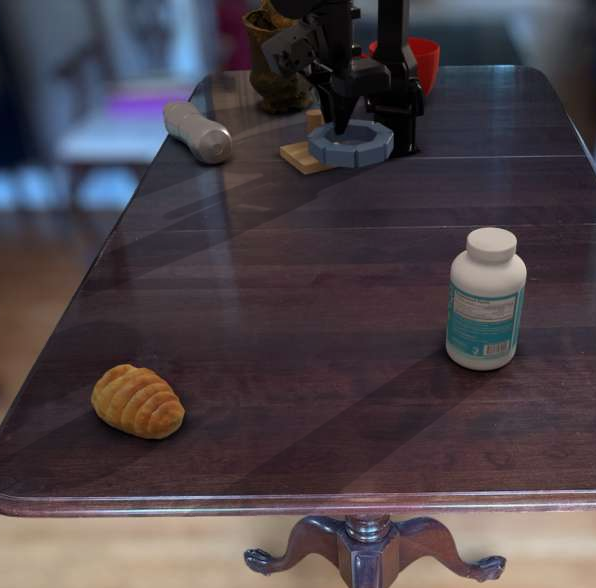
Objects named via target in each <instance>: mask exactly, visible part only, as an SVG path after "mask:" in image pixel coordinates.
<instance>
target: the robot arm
mask: <svg viewBox="0 0 596 588" xmlns="http://www.w3.org/2000/svg"><path fill="white" fill-rule="evenodd" d="M270 3H271V4H272V6H273V7H274V9H275V10H276V11H277V12H278V13H279V14H280V15H282V16H283V17H285V18H288V19H291V20H297V24H295V25H293V26H291V27H288V28H286V29H284V30H283V31H281V32H280V33H278V34H276V35H275V36H273V37H272V38H270V39H268V40H267V41H265V42H264V43H263V44H262V45H261V48H262V50H263V53H264V55H265V57H266V59H267V62H268V64H269V66H270V69H271V71H272V72H273V73H276V74H278V75H280V77H281V78H283V79H288V78H291V77H293V76H294V75H296V72H297V73H298V74H299V75H300V76H301V77H303V78H304V79H305V80H306V81H307V82H308V83H310V84H311V86H312V91H313V92H314V95H315V98H316V101H317V103H318V106H319V110H321V113H322V116H323V123H324V124H325V123H330V122H333V126H334V131H335V134H336V135H337V136H338V135H342V134H344V132H345V129H346V127H347V125H348V123H349V120H350V119H352V118H351V117H352V116H353V113H354V111H355V109H356V106H357V104H358V102H359V101H360V99H361V97H363V101H364V108H365V113H366V114H373V121H374V123H380V124H382V125H383V126H385V127H386V128H388V129H390V130H391V131H392V132H393V134H394V136H393V150H392V151H391V153H390V155H389V157H388V158H387V159H394V158H398V157H402V156H407V155H410V154H415V153H419V152H421V147H420V146H418V145H417V144H416V129H417V118H418V117H423V116H424V115H425V107H426V102H425V101H426V97H425V94H424V91H423V88H422V85H421V82H420V79H419V78H418V64H417V61H416V59H415V57H414V55H413V53H412V51H411V49H410V47H409V45H408V37H409V31H410V30H409V29H410V9H411V8H410V6H411V0H377V27H376V29H377V34H376V38H377V39H376V41H377V47H376V49H375V51H374V52H373V54H372V56H371V58H365V59H363V58H361V59H360V58H359V59H355V60H354V59H353V60H352V57H355V58H357V57H356V56H361V53H362V46H361V45H360V44H357V43H355V20H359V19H362V14H361V13H362V12H361V11H362V10H361V8H359V7H358V6H355V5H354V4H355V3H354V0H270ZM351 60H352V61H351Z"/></svg>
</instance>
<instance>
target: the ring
mask: <svg viewBox="0 0 596 588" xmlns="http://www.w3.org/2000/svg"><path fill="white" fill-rule="evenodd" d="M393 136H394V134H393V132H392V131H391V130H390V129H388V128H386V127H385V126H383V125H382V124H380V123H374V120H363V119H352V118H350V120H349V123H348V125H347V127H346V129H345V132H344V134H342V135H338V136H337V135H336V134H335V131H334V126H333V122H330V123H325V122H324V123H323V124H321V125H319V127H315V128H314V129H313V131H312V132H311V133H310V134H309V136H308V135H307V141H308V151H309V154H310V155H311V156H312V157H314V158H315V159H316V160H318V161H319V162H320V163H322V164H323V163H326V165H329V166H340V167H342V168H351V169H354V168H355V167H356V166H357V167H358V168H363V167H366V166H371V165H374V164H379V163H381V162H384V161H385V160H388V159H389V158H388V157H389V155H390V153H391V151H392V150H393ZM345 141H356V142H357V141H358V142H359V141H360V142H363V143H360V144H359V143H358V144H356V145H352V144H340V142H345ZM336 142H337V143H339V144H333V143H336Z"/></svg>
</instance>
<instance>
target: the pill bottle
mask: <svg viewBox="0 0 596 588" xmlns="http://www.w3.org/2000/svg"><path fill="white" fill-rule="evenodd" d="M517 242H518V241H517V237H516V236H515V234H514V233H512V232H511V231H509V230H506V229H503V228H500V227H480V228H477V229H474V230H472V231H471V232H470V233H469V234H468V235H467V238H466V245H465V249H466V250H464V251H462V252H461V253H459V254H458V255H457V256H456V257H455V258H454V259H453V261H452V264H451V267H450V275H449V287H448V289H449V290H448V306H447V307H448V308H447V320H446V334H445V350H446V352H447V355H448V356H449V358H451V359H452V361H454V362H455V363H456V364H458V365H460V366H462V367H463V368H467V369H470V370H474V371H491V370H495V369H500V368H501V367H504V366H505V365H507V364H508V363H509V362H511V361H512V359H513V358H514V356H515V353H516V350H517V343H518V336H519V330H520V329H519V328H520V323H521V315H522V308H523V301H524V294H525V289H526V283H527V282H526V281H527V268H526V267H527V266H526V265H525V263H524V261H523V259H522V258H521V257H520V256H519V255H517V254H516V252H517Z"/></svg>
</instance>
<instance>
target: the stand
mask: <svg viewBox="0 0 596 588" xmlns="http://www.w3.org/2000/svg"><path fill="white" fill-rule="evenodd" d="M305 114H306V115H305V117H306V128H307V129H306V132H307V137H308V136H309V134H310V133H311V132H312V131H313V129H314V128H315V127H319V125H321V124H324V119H323V116H322V113H321V110H320V109H309V110H307V111H306V112H305ZM333 144H340V142H336V143H333ZM279 153H280V157H282V159H284V160H285V161H286V162H288V163H289V164H290V165H291V166H293V167H294V168H295V169H297V170H298V171H299V172H301V173H302V174H303V175H304V176H305V175H309V174H313V173H319V172H322V171H327V170H331V169H335V168H339V167H340V166H329V165H326V163H323V164H322V163H320V162H319V161H318V160H316V159H315V158H314V157H312V156H311V155H310V154H309V151H308V140H306V141H301V142H296V143H291V144H286V145H283V146H279Z"/></svg>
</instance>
